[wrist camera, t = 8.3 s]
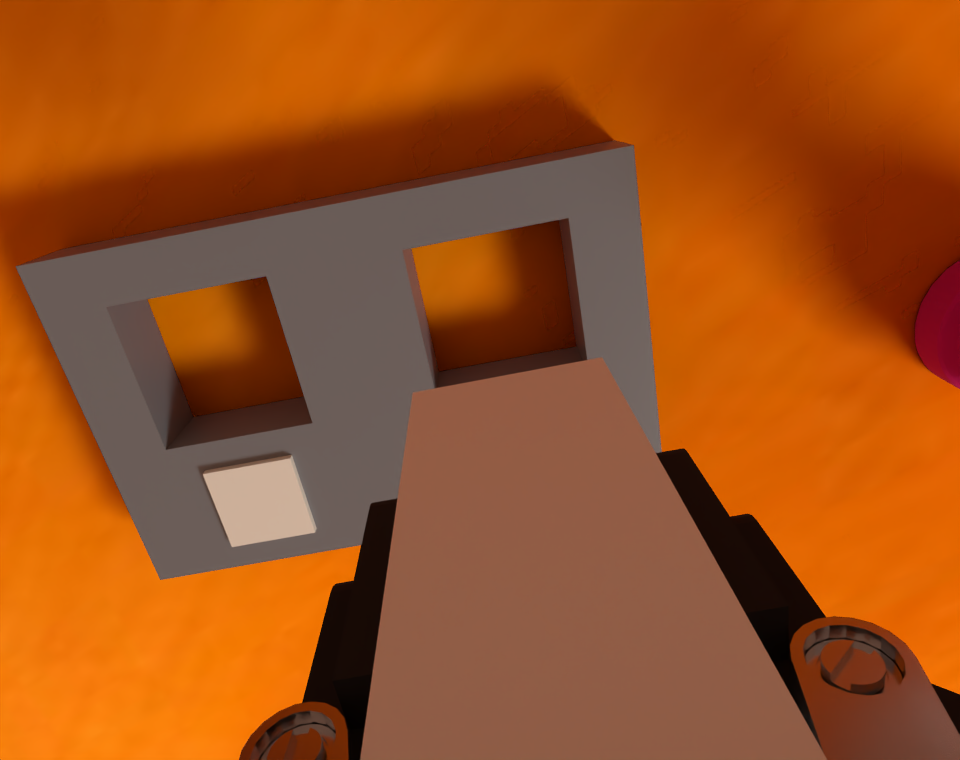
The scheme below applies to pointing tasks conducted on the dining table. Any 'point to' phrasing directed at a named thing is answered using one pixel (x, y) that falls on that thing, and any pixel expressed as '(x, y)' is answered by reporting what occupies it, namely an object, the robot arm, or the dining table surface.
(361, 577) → the robot arm
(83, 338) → the socket board
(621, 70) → the dining table surface
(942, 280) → the pepper mill
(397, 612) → the plug
